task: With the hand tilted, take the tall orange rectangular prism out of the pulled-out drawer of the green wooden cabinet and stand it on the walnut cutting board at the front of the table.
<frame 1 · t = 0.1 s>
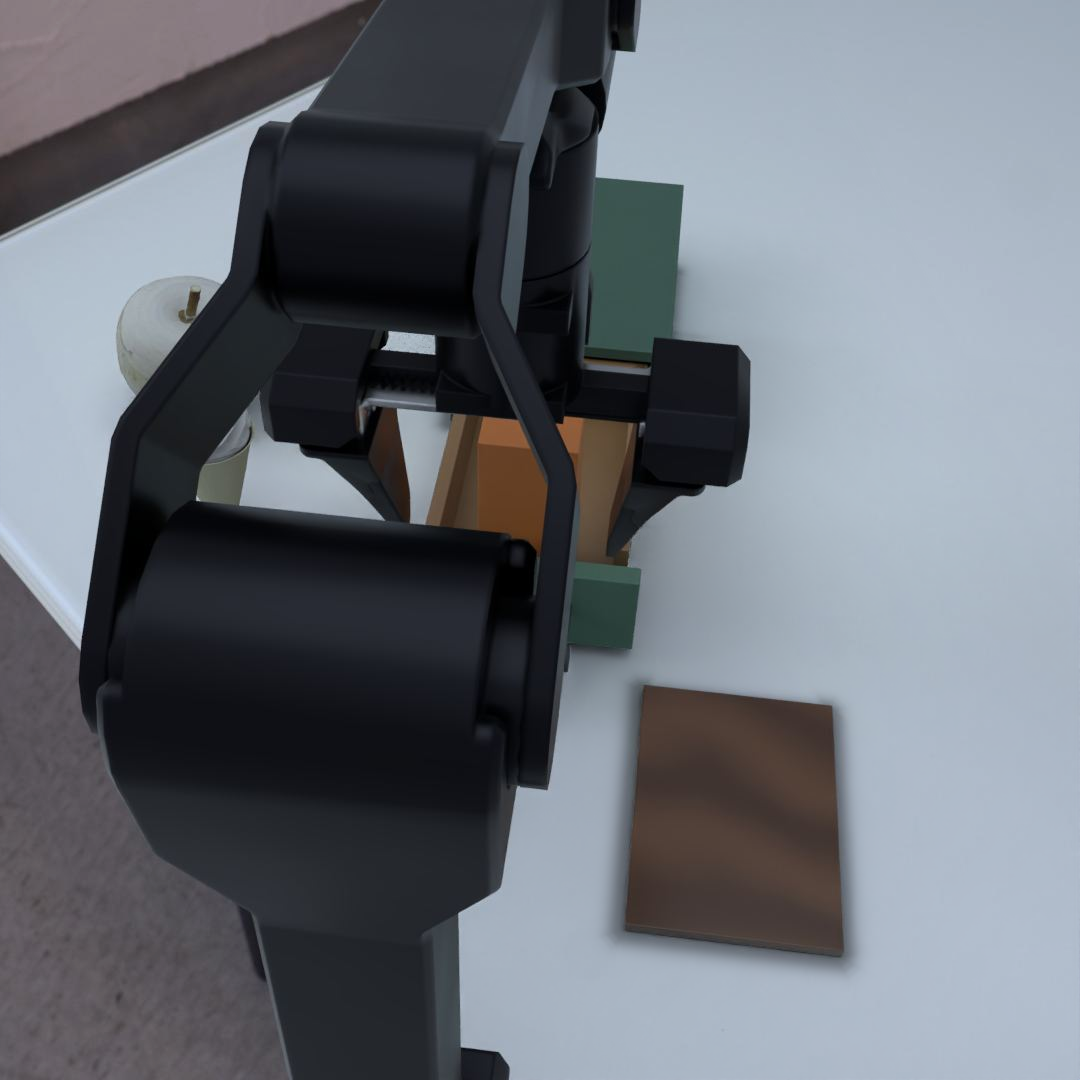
hand: (507, 538, 58), 14 cm above the table, tool pointing down, fingers open, 9 cm apart
orange rectangular prism: (528, 570, 73), point 2 cm above the table, touching drawer
cabinet: (569, 339, 91), on the table
decorative object: (202, 411, 85), on the table
ice cream cone: (229, 539, 77), on the table
drawer: (535, 511, 74), point 4 cm above the table, slide at 17.0 cm, touching orange rectangular prism
board: (734, 813, 65), on the table
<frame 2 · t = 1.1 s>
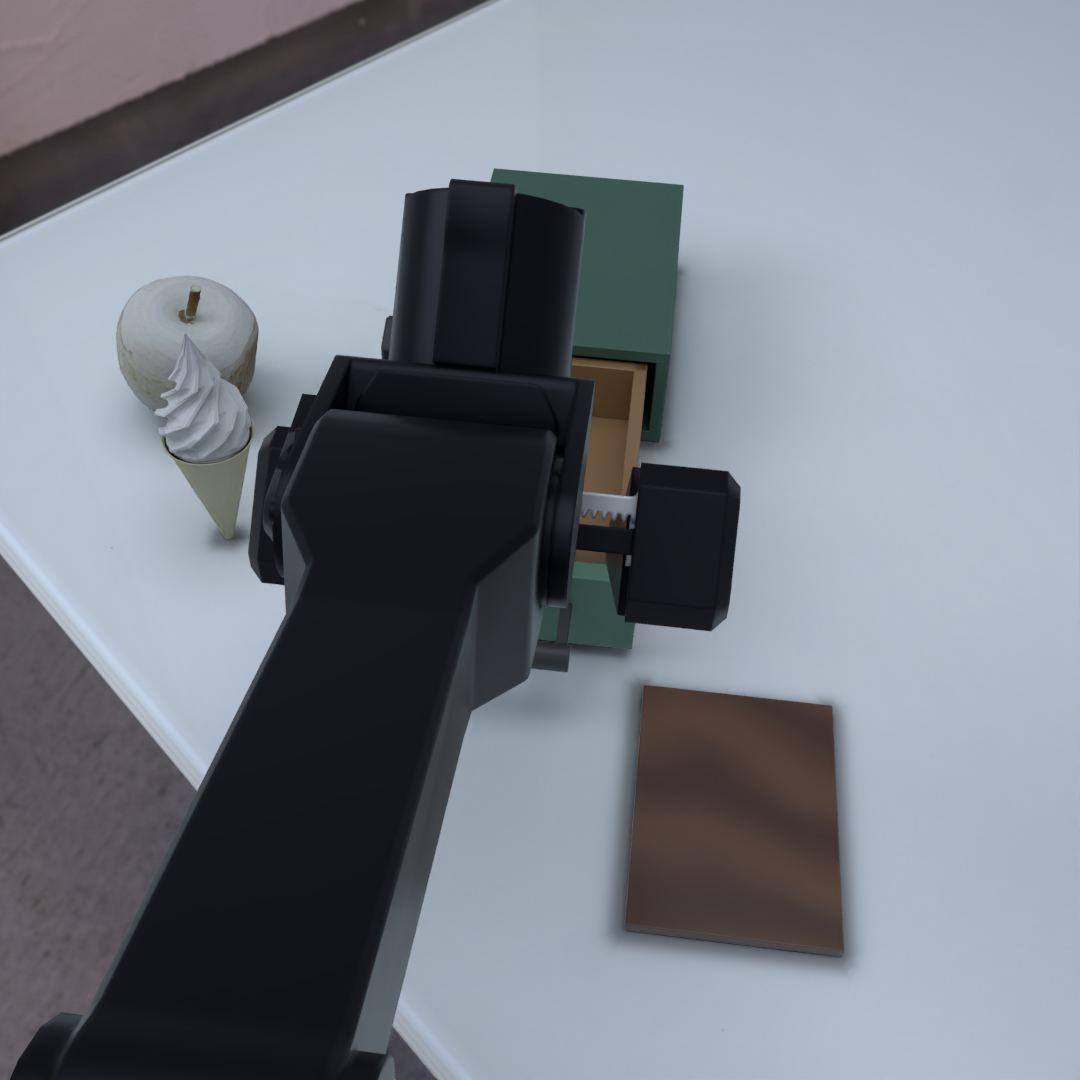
hand: (512, 527, 60), 13 cm above the table, tool tilted 45°, fingers open, 9 cm apart
nothing on the table moved.
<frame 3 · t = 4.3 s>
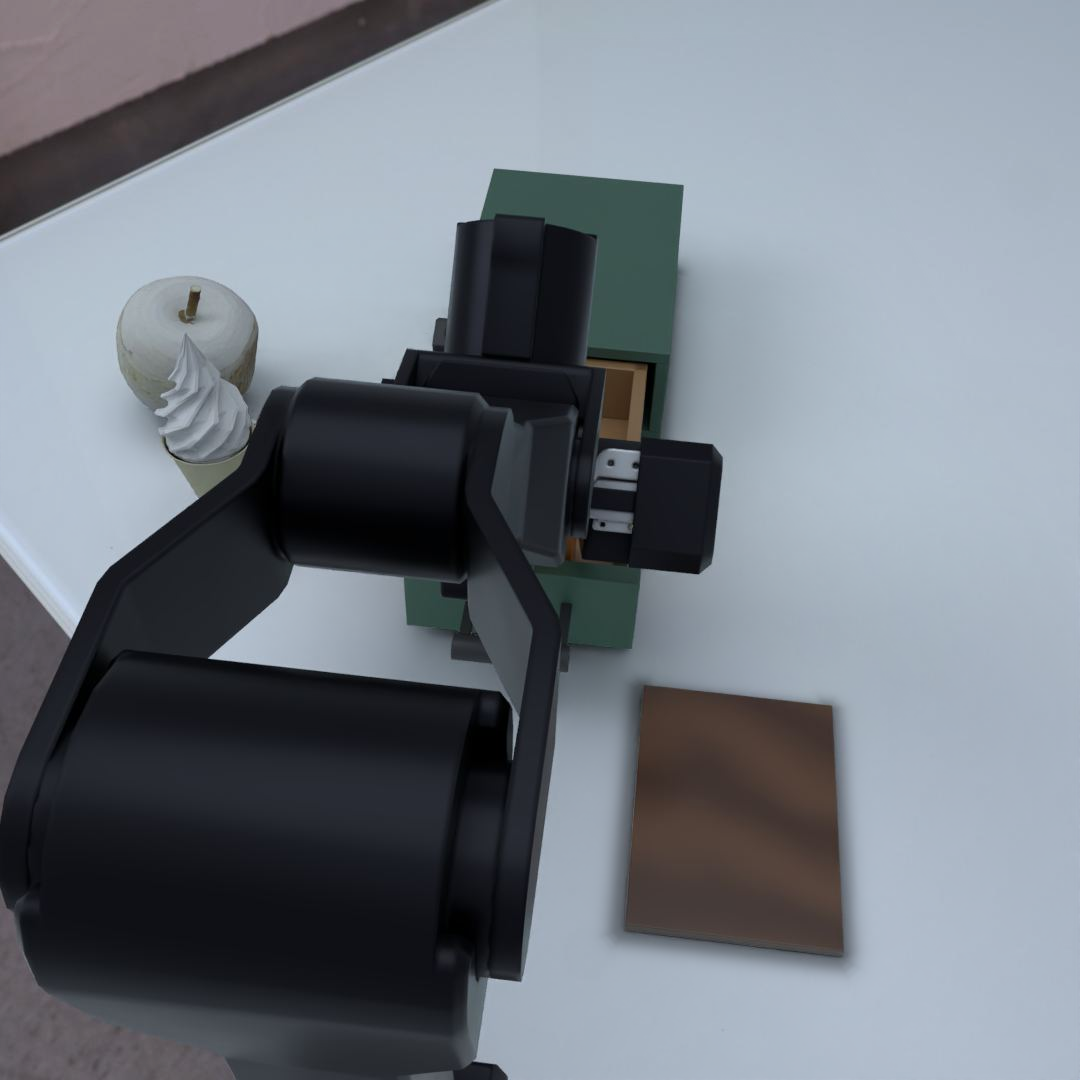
hand: (533, 494, 71), 7 cm above the table, tool tilted 45°, fingers closed on orange rectangular prism, 5 cm apart
orange rectangular prism: (527, 570, 73), point 2 cm above the table, touching drawer, gripper
everything else where it was.
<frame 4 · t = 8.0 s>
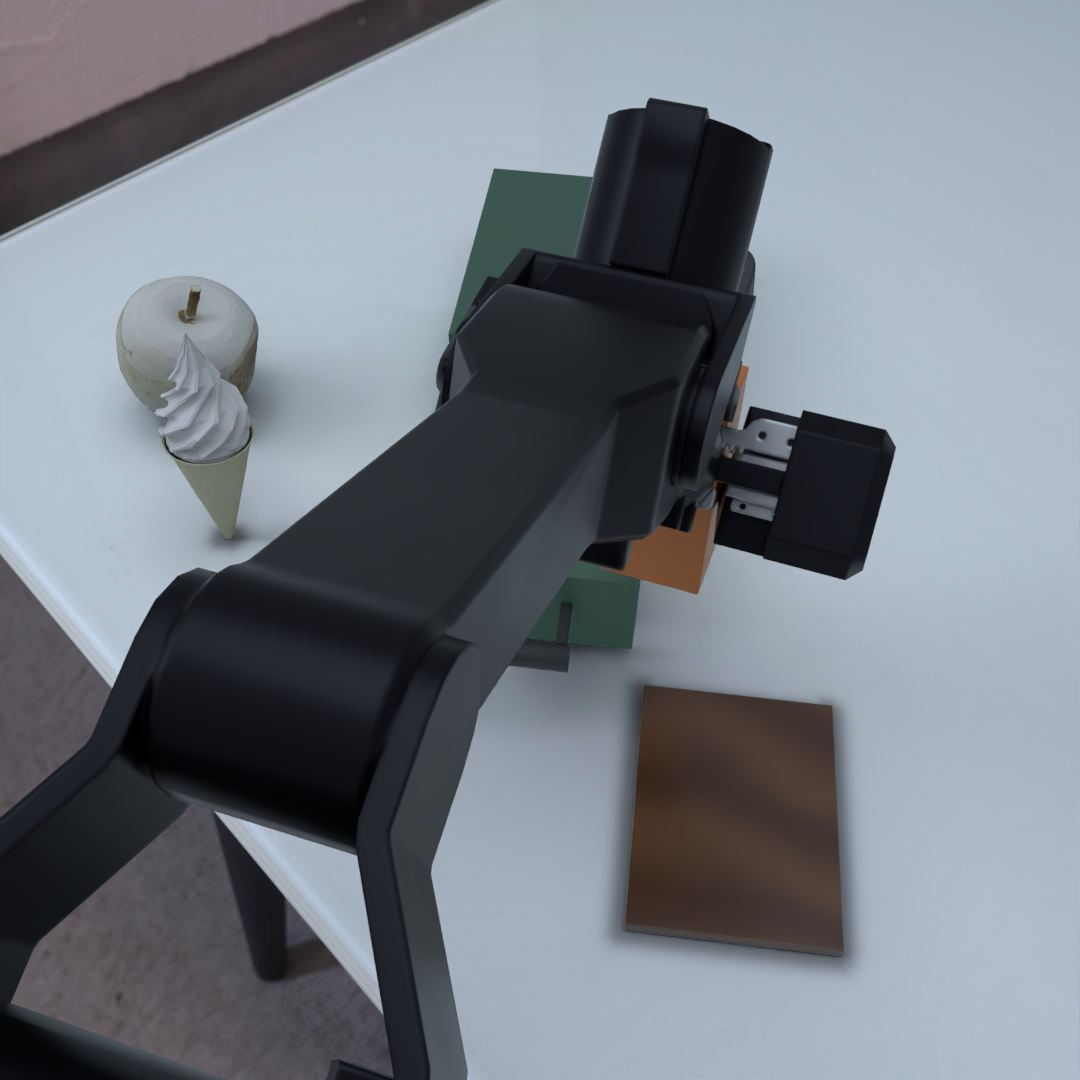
hand: (676, 468, 63), 14 cm above the table, tool tilted 45°, fingers closed on orange rectangular prism, 5 cm apart
orange rectangular prism: (658, 554, 65), point 9 cm above the table, touching gripper
drawer: (535, 511, 74), point 4 cm above the table, slide at 17.0 cm
everything else where it was.
when the fingers open (5 cm above the table, at t = 12.1 s): orange rectangular prism stays where it is, resting on board.
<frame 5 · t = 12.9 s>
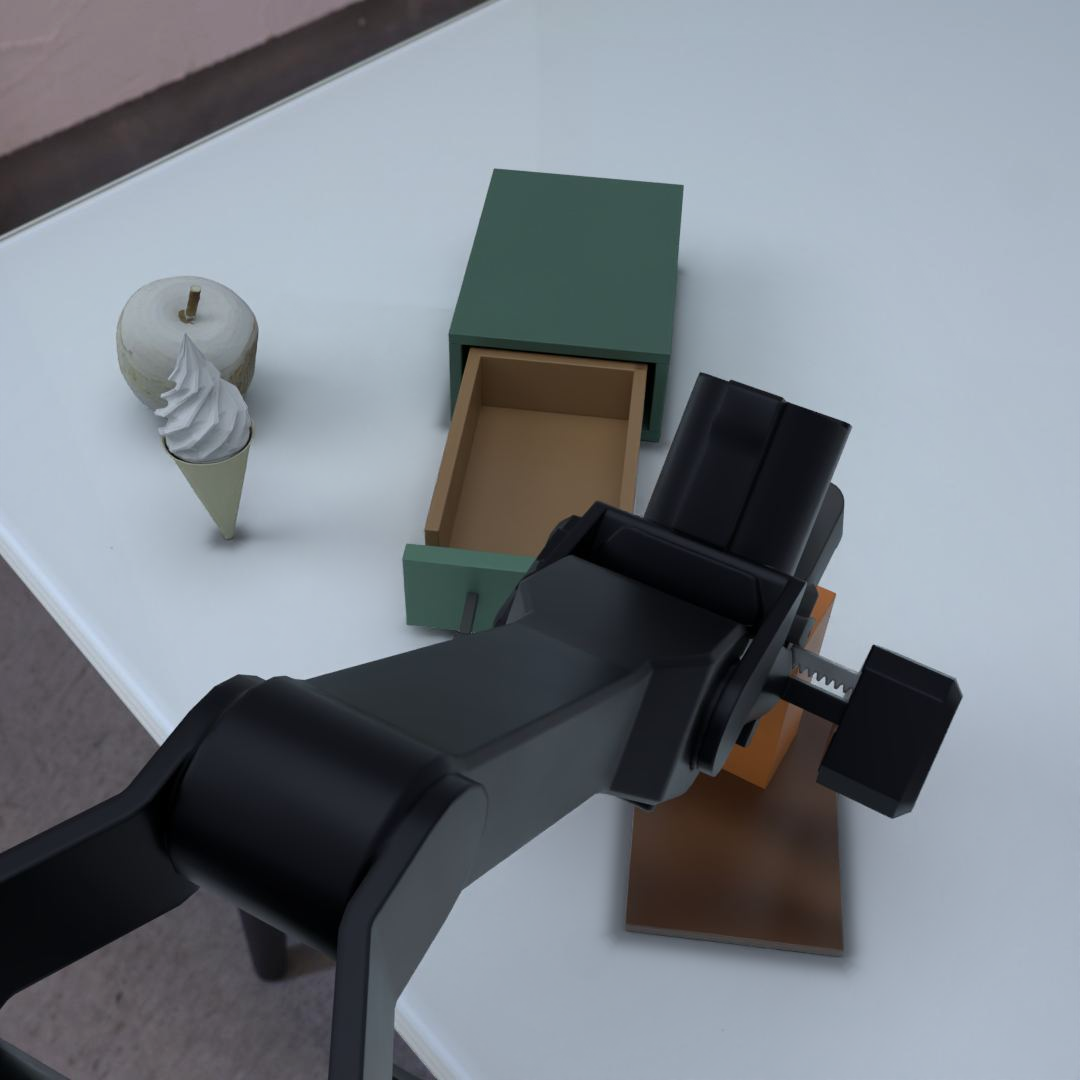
hand: (763, 654, 64), 6 cm above the table, tool tilted 45°, fingers open, 9 cm apart
orange rectangular prism: (736, 740, 67), point 1 cm above the table, touching board
everything else where it was.
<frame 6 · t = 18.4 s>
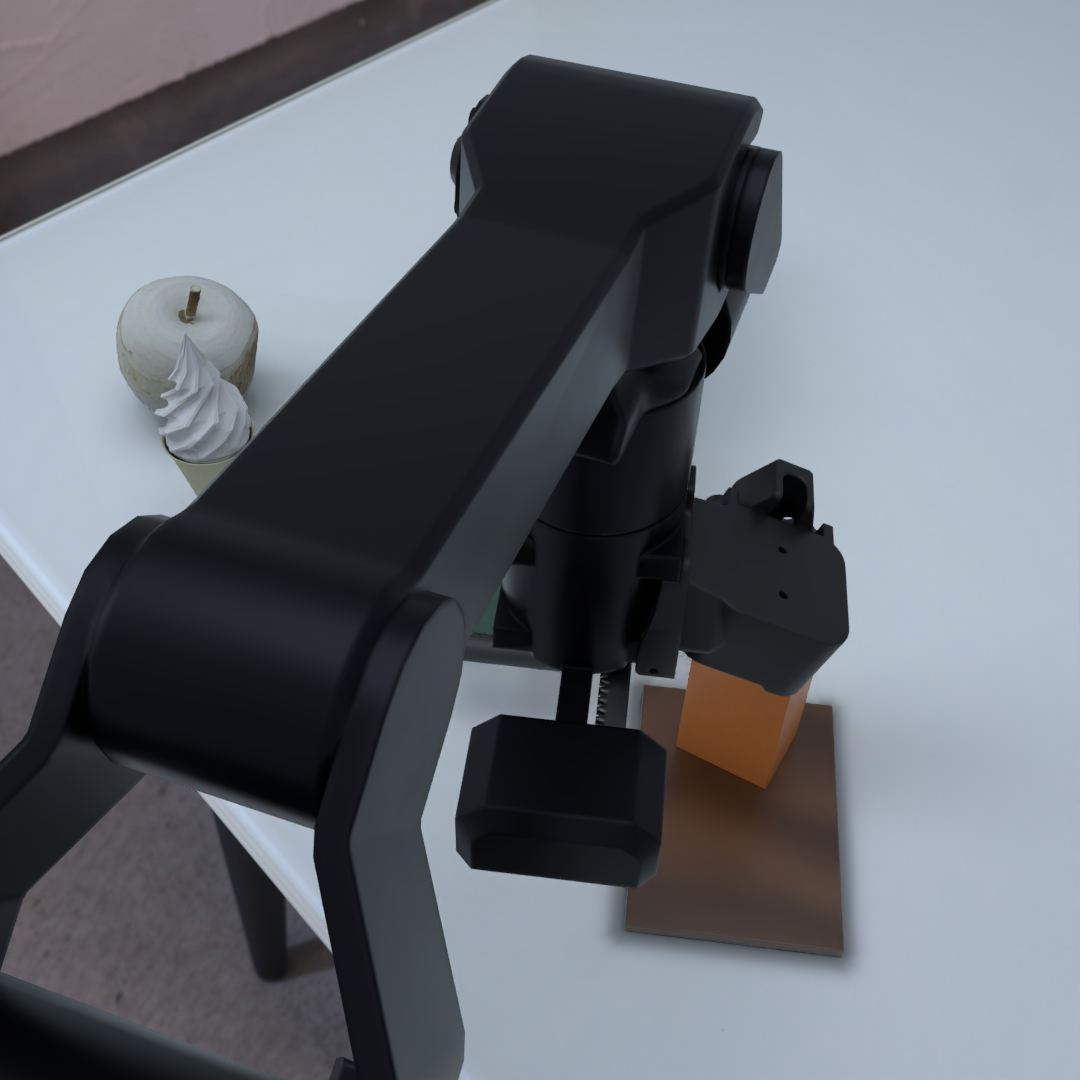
hand: (573, 762, 51), 13 cm above the table, tool pointing down, fingers open, 9 cm apart
nothing on the table moved.
at the end: orange rectangular prism inside the target area on the board (1.5 cm from its centre), point 0.6 cm above the board's base; orange rectangular prism tilted 0°; drawer slide at 17.0 cm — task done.
